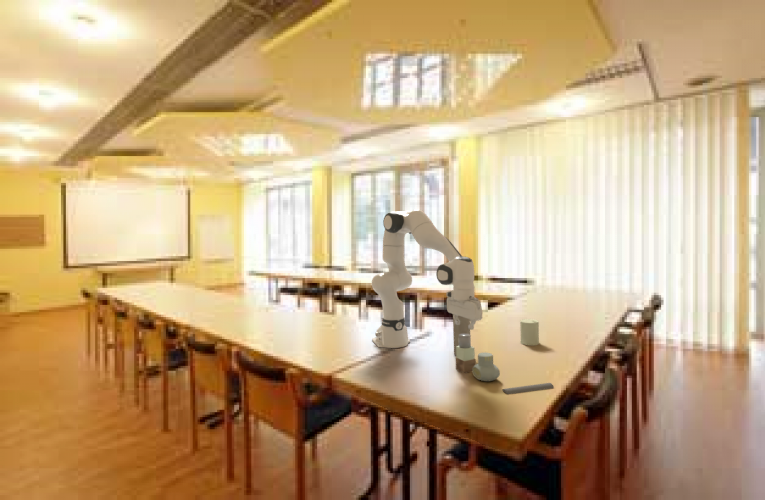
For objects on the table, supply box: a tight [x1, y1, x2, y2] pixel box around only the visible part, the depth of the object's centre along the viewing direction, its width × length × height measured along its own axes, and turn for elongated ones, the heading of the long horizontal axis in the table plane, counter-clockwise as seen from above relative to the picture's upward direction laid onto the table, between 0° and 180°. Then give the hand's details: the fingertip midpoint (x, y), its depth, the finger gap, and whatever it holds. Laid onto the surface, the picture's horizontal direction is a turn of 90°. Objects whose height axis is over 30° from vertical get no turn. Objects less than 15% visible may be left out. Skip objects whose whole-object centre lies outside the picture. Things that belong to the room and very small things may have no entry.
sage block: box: [455, 345, 476, 361], centre depth 176 cm, size 6×6×5 cm
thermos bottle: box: [452, 316, 471, 356], centre depth 197 cm, size 8×8×28 cm
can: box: [519, 318, 540, 346], centre depth 212 cm, size 9×9×12 cm
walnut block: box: [455, 357, 477, 374], centre depth 176 cm, size 6×6×5 cm
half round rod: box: [501, 382, 555, 395], centre depth 153 cm, size 4×20×2 cm, turn 103°
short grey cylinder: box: [459, 333, 472, 348], centre depth 176 cm, size 5×5×5 cm
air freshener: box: [471, 352, 501, 382], centre depth 164 cm, size 11×8×10 cm
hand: (464, 326), depth 176 cm, fingers open, 8 cm apart
